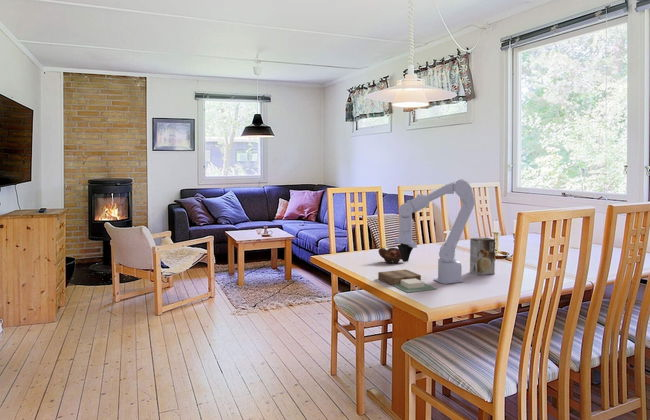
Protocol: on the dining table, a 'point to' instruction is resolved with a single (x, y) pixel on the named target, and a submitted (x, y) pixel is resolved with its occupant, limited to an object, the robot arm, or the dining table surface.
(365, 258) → the dining table surface
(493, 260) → the coffee box
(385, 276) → the walnut step
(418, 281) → the coaster
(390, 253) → the decorative turtle
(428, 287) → the rubber mat
